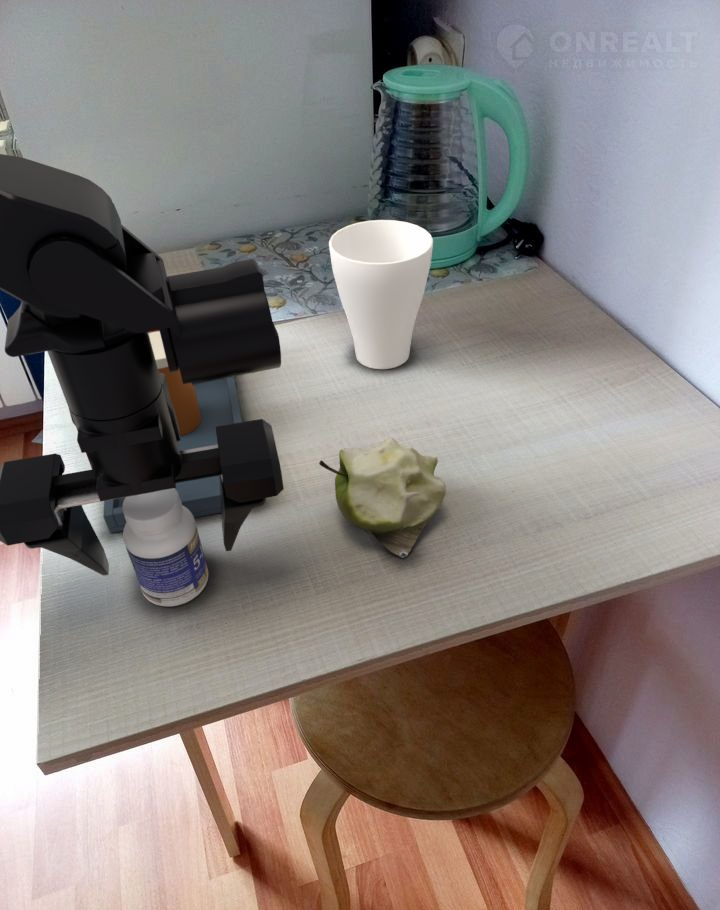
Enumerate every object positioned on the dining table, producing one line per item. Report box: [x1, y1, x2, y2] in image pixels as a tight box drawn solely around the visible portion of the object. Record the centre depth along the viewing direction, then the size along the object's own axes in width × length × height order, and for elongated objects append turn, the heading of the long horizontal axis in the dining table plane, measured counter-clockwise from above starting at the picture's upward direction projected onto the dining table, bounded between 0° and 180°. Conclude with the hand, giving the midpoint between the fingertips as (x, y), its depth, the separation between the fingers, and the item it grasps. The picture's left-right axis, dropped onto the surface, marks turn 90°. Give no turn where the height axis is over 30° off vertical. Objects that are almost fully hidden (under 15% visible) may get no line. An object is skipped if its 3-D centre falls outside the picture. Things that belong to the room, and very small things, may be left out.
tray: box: [102, 376, 243, 534], centre depth 70 cm, size 13×27×2 cm, turn 13°
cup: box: [328, 219, 434, 370], centre depth 75 cm, size 10×10×14 cm
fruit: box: [318, 436, 447, 559], centre depth 59 cm, size 9×9×8 cm
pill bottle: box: [122, 488, 209, 607], centre depth 53 cm, size 5×5×9 cm
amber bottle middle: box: [148, 331, 201, 436], centre depth 67 cm, size 5×5×9 cm
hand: (168, 558), depth 54 cm, fingers open, 9 cm apart
